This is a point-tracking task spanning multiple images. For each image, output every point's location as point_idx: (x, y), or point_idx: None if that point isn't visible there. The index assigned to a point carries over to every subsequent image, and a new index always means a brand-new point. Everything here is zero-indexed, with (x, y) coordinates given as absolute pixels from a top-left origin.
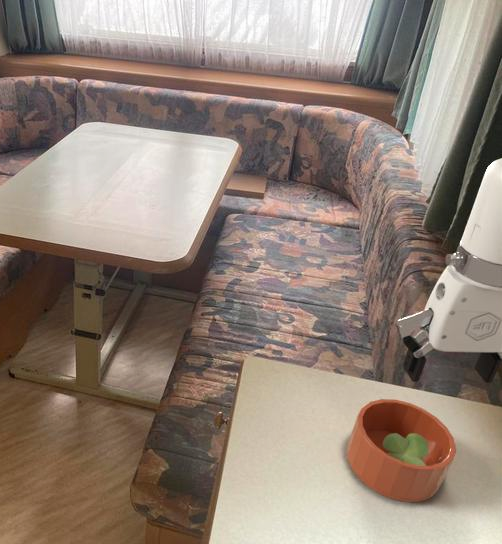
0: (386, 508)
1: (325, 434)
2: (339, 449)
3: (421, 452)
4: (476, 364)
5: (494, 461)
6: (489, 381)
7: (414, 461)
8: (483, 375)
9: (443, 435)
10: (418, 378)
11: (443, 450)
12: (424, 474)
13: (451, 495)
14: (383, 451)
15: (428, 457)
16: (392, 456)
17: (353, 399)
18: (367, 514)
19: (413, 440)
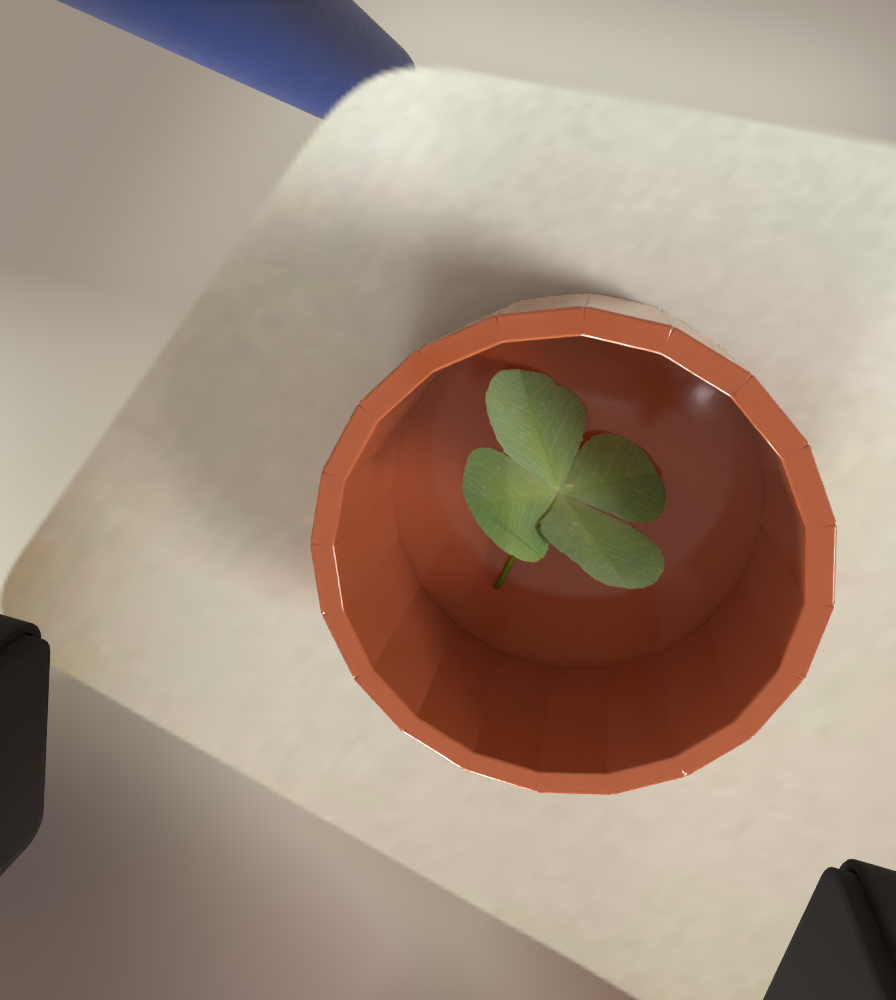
0: (759, 292)
1: None
2: None
3: (493, 469)
4: (3, 862)
5: (125, 409)
6: (5, 625)
7: (528, 450)
8: (19, 715)
9: (346, 514)
10: (884, 902)
11: (373, 455)
12: (622, 311)
13: (414, 295)
14: None
15: (400, 482)
16: (615, 501)
17: (516, 827)
18: (875, 280)
19: (518, 528)
